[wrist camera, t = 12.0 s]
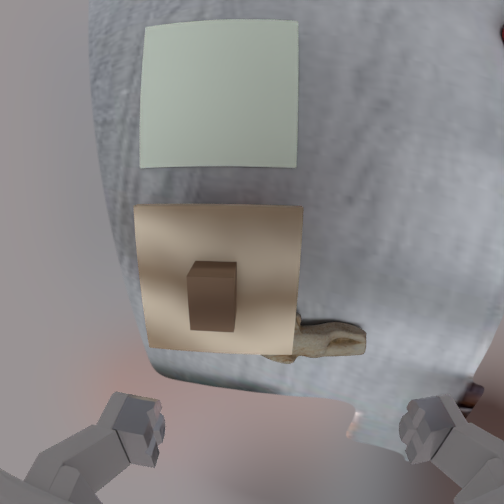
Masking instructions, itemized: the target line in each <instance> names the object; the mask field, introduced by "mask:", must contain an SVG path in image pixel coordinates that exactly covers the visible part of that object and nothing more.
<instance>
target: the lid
mask: <svg viewBox="0 0 504 504" xmlns="http://www.w3.org/2000/svg"><path fill="white" fill-rule="evenodd" d="M134 221H135V235H136V247H137V258H138V268H139V277H140V286H141V294H142V301H143V309H144V316H145V322H146V329H147V335H148V341H149V347H151V348H161V349H171V350H183V351H196V352H212V353H231V354H260V355H292V349H293V339H294V329H295V318H296V307H297V296H298V283H299V270H300V257H301V242H302V225H303V207H302V206H287V205H252V204H137V205H135V206H134Z"/></svg>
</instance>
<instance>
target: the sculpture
mask: <svg viewBox="0 0 504 504" xmlns="http://www.w3.org/2000/svg"><path fill="white" fill-rule="evenodd" d="M300 323H301V316H300V314H299V313H297V312H296V318H295V329H294V339H293V349H292V355H262V356H264V357H266V358H268V359H270V360H273V361H276V362H280V363H285V364H291V363H293V362H294V361H295V359H296V358H297V357H298V356H306V357H310V358H318V357H323V356H351V355H362V354H364V353H365V350H366V332H365V331H364V330H362V329H360V328H359V327H357V326H354V325H350V324H347V323H341V322H329V323H324V324H319V325H309V326H302V325H300Z"/></svg>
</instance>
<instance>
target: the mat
mask: <svg viewBox="0 0 504 504" xmlns="http://www.w3.org/2000/svg"><path fill="white" fill-rule="evenodd" d="M297 134H298V21H290V20H271V19H225V20H205V21H192V22H182V23H173V24H165V25H157V26H151V27H146V30H145V40H144V51H143V64H142V79H141V101H140V168H156V167H193V166H244V167H281V168H296V167H297Z"/></svg>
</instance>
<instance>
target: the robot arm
mask: <svg viewBox="0 0 504 504" xmlns="http://www.w3.org/2000/svg"><path fill="white" fill-rule="evenodd" d="M161 409H162V406H161V402H160V400H157V399H152V398H147V397H141V396H136V395H131V394H125V393H120V392H115V393H113V394H112V396H111V398H110V400H109V402H108V403H107V405H106V407H105V409H104V411H103V413H102V415H101V417H100V419H99V421H98V423H97V425H91V426H89V427H87V428H85V429H83V430H82V431H80V432H78V433H76V434H74V435H73V436H71V437H69V438H67V439H65V440H63V441H62V442H60V443H58V444H56V445H54V446H52V447H51V448H48V449H47V450H45V451H43V452H41V453H39V455H38V457H37V458H36V460H35V462H34V464H33V465H32V467H31V469H30V471H29V472H28V474H27V476H26V478H25V479H24V481H22V480H20V479H18V478H17V477H15V476H13V475H11V474H9V473H7V472H6V471H4V470H2V469H0V504H103V503H102V502H101V501H100V500H99V498H98V497H97V496H96V494H95V493H96V492H97V491H99V490H100V489H101V488H102V487H104V486H105V485H106V484H107V483H109V482H110V481H111V480H112V479H113V478H115V477H116V476H117V475H118V474H120V473H121V472H122V471H123V470H124V469H126V468H127V467H128V466H129V465H130V463H131V464H136V465H142V466H147V467H153V468H155V466H156V462H157V459H158V456H159V449H158V445H159V444H161V443H162V442H163V438H164V434H165V419H164V416H163V415H162V414H161V413H160V411H161ZM407 410H408V412H407V413H406V414H405V415H404V416H402V418H401V421H400V423H399V435H400V438H401V441H402V442H403V443H405V444H406V445H407V447H406V450H405V452H406V454H407V457H408V459H409V462H410V464H416V463H420V462H425V461H430V460H431V462H432V463H433V464H434V465H435V466H437V467H438V468H439V469H440V470H441V471H442V472H444V473H445V474H446V475H447V476H448V477H450V478H451V479H452V480H453V481H454V482H455V483H457V484H458V485H459V486H460V487H461V488H462V490H461V491H460V492H459V493H458V494H457V496H455V498H454V503H455V504H504V441H502V440H501V439H499V438H497V437H495V436H493V435H492V434H490V433H488V432H486V431H484V430H483V429H481V428H479V427H478V426H476V425H474V424H472V423H467V421H466V420H465V418H464V416H463V414H462V413H461V411H460V410H459V408H458V406H457V405H456V403H455V401H454V400H453V398H452V397H451V395H449V394H443V395H438V396H432V397H426V398H420V399H414V400H411V401H410V402H409V403H408V406H407Z"/></svg>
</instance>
